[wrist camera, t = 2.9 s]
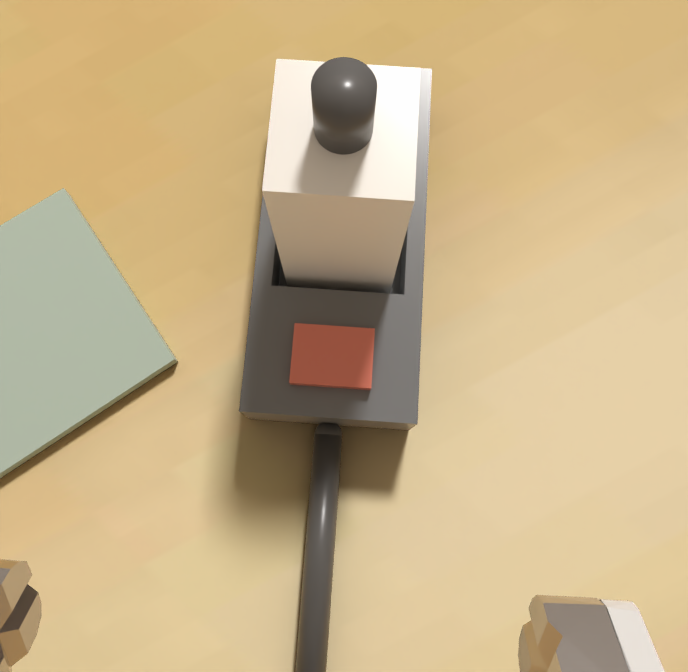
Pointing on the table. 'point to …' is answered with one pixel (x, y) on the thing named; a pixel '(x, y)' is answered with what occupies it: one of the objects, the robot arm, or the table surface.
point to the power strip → (342, 313)
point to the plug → (341, 171)
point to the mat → (64, 330)
